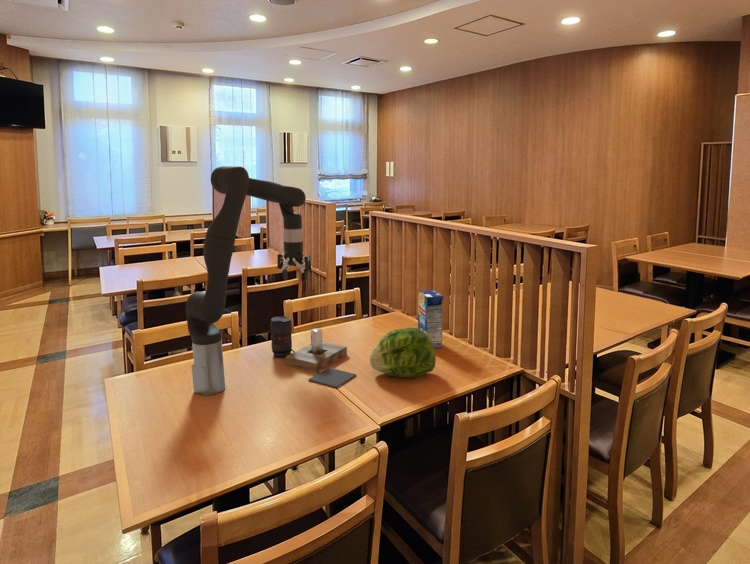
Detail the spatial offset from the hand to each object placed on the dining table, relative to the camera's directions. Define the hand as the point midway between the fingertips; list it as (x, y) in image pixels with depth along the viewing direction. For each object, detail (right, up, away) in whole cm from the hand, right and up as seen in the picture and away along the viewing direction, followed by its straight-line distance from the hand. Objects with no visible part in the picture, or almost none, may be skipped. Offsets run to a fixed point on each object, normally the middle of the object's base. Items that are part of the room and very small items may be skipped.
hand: (294, 280), depth 197 cm
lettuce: (+42, -34, -19) cm, 57 cm away
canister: (+10, -31, -5) cm, 33 cm away
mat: (+17, -35, -22) cm, 44 cm away
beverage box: (+55, -27, +12) cm, 62 cm away
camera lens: (-5, -30, 0) cm, 30 cm away
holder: (+10, -31, -5) cm, 32 cm away
